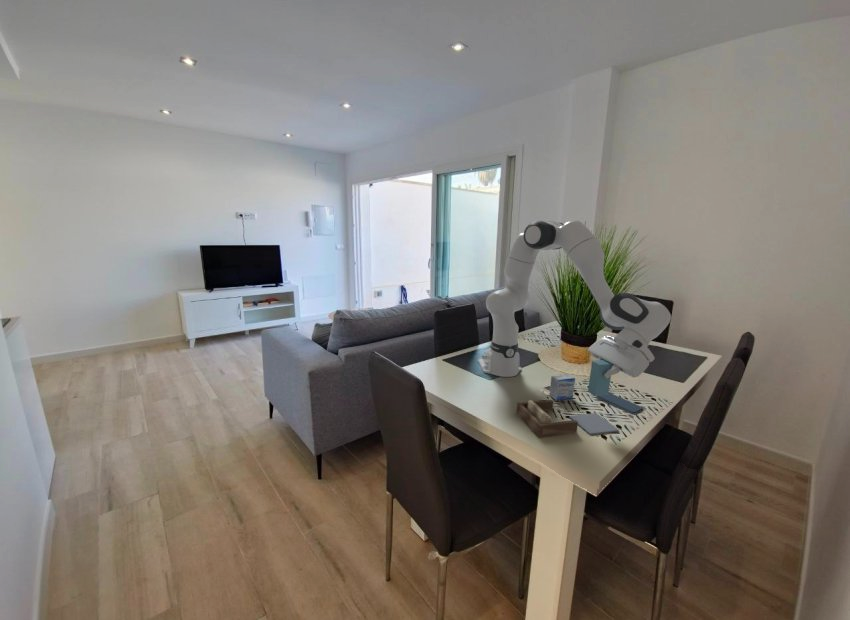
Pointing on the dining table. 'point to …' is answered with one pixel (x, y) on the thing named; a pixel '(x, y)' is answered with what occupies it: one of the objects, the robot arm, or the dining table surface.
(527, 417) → the tray
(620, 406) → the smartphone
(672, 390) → the dining table surface
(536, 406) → the offcut stack
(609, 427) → the grey mat
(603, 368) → the teal rectangular block
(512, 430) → the dining table surface
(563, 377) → the medicine box
